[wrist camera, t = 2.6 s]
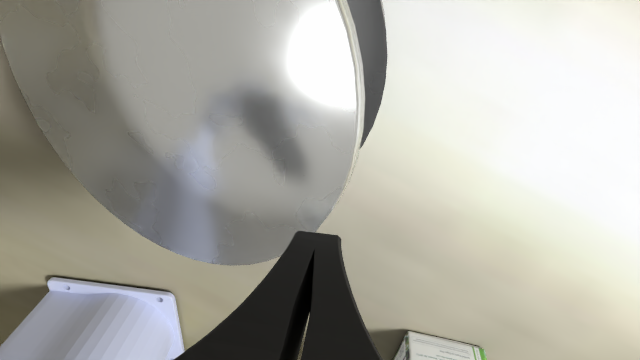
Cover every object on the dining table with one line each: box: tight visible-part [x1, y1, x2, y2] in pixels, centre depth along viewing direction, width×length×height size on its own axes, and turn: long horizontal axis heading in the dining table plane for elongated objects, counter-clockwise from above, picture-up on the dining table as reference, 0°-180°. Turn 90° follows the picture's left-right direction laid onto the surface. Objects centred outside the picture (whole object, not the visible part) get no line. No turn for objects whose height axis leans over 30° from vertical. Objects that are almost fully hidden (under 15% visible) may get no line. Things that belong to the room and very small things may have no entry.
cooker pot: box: [347, 0, 387, 150], centre depth 18 cm, size 15×19×4 cm
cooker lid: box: [0, 0, 365, 265], centre depth 14 cm, size 15×19×1 cm
